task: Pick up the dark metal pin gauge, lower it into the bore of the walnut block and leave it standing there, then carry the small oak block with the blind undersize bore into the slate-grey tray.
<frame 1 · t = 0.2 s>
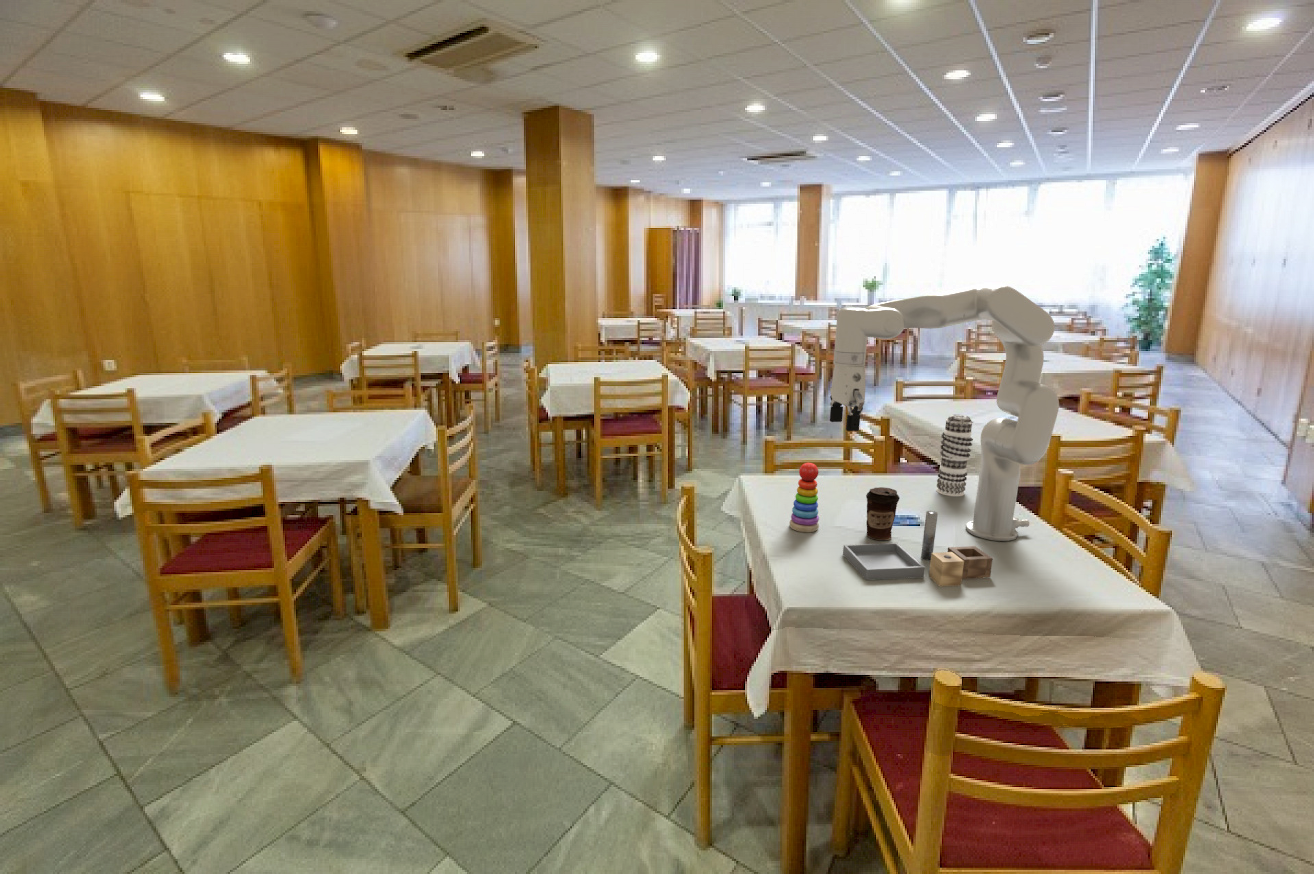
hand: (843, 426, 168), 31 cm above the table, tool pointing down, fingers open, 9 cm apart
tray: (881, 565, 160), on the table
go block: (967, 572, 158), on the table
coffee cup: (878, 537, 178), on the table
decorative candle: (950, 492, 214), on the table
stacking toy: (803, 528, 183), on the table
oak block: (944, 580, 153), on the table
pin gauge: (926, 558, 165), on the table
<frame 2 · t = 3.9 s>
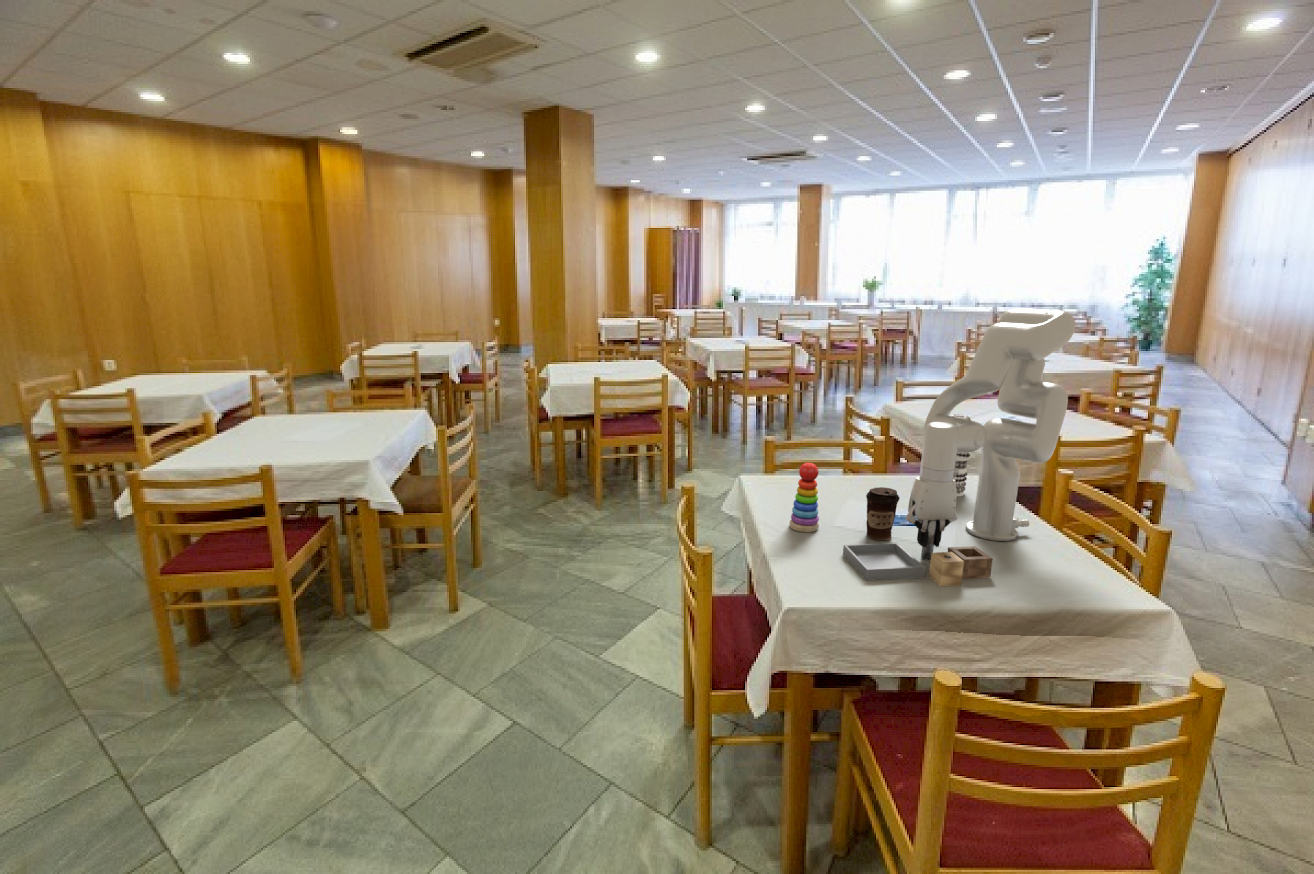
hand: (928, 544, 164), 4 cm above the table, tool pointing down, fingers closed on pin gauge, 2 cm apart
pin gauge: (926, 558, 165), on the table, touching gripper
everything else where it was.
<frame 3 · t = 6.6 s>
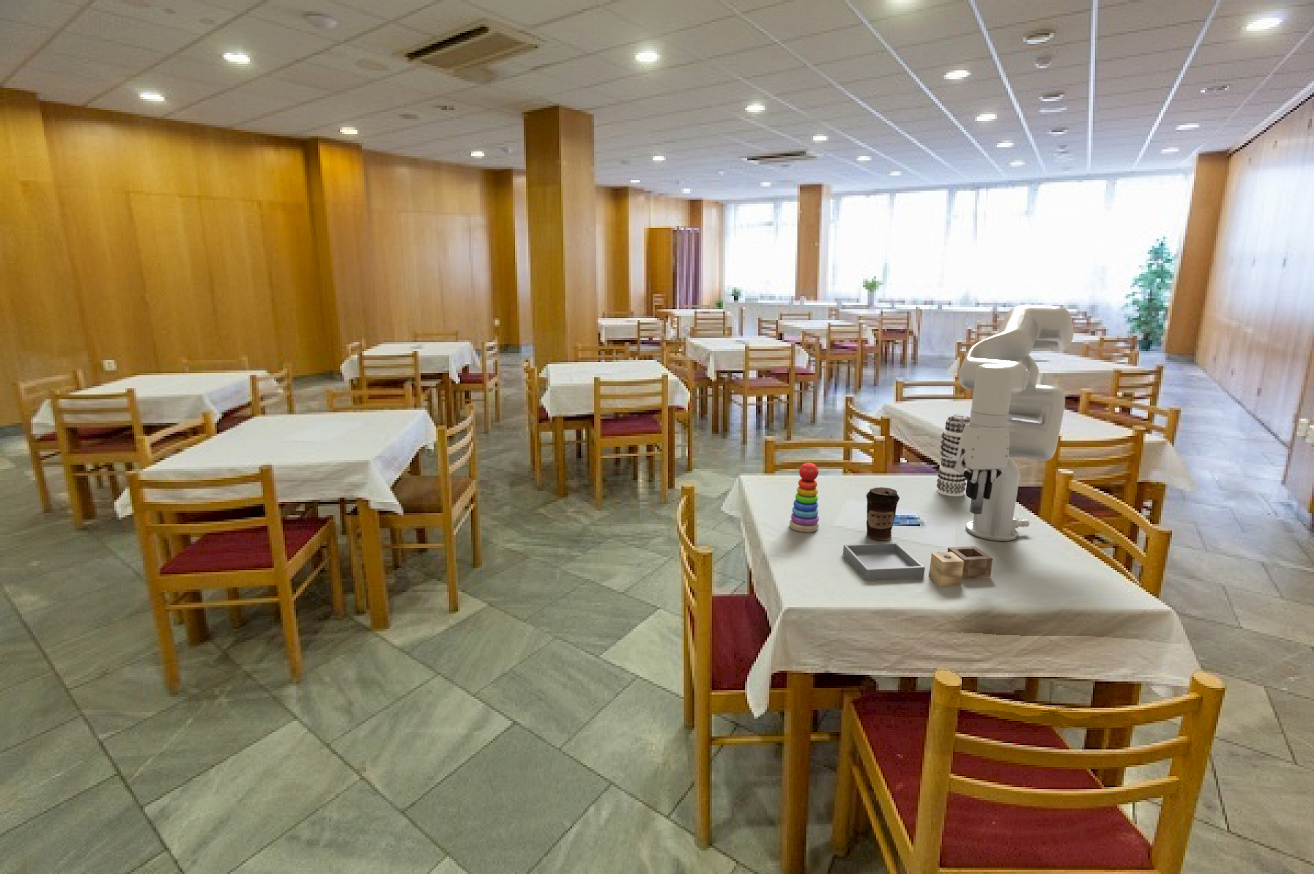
hand: (977, 497, 153), 19 cm above the table, tool pointing down, fingers closed on pin gauge, 2 cm apart
pin gauge: (975, 512, 154), point 15 cm above the table, touching gripper
everything else where it was.
when the fingers open (6 cm above the table, at t = 9.6 s): pin gauge drops 1 cm, resting on go block.
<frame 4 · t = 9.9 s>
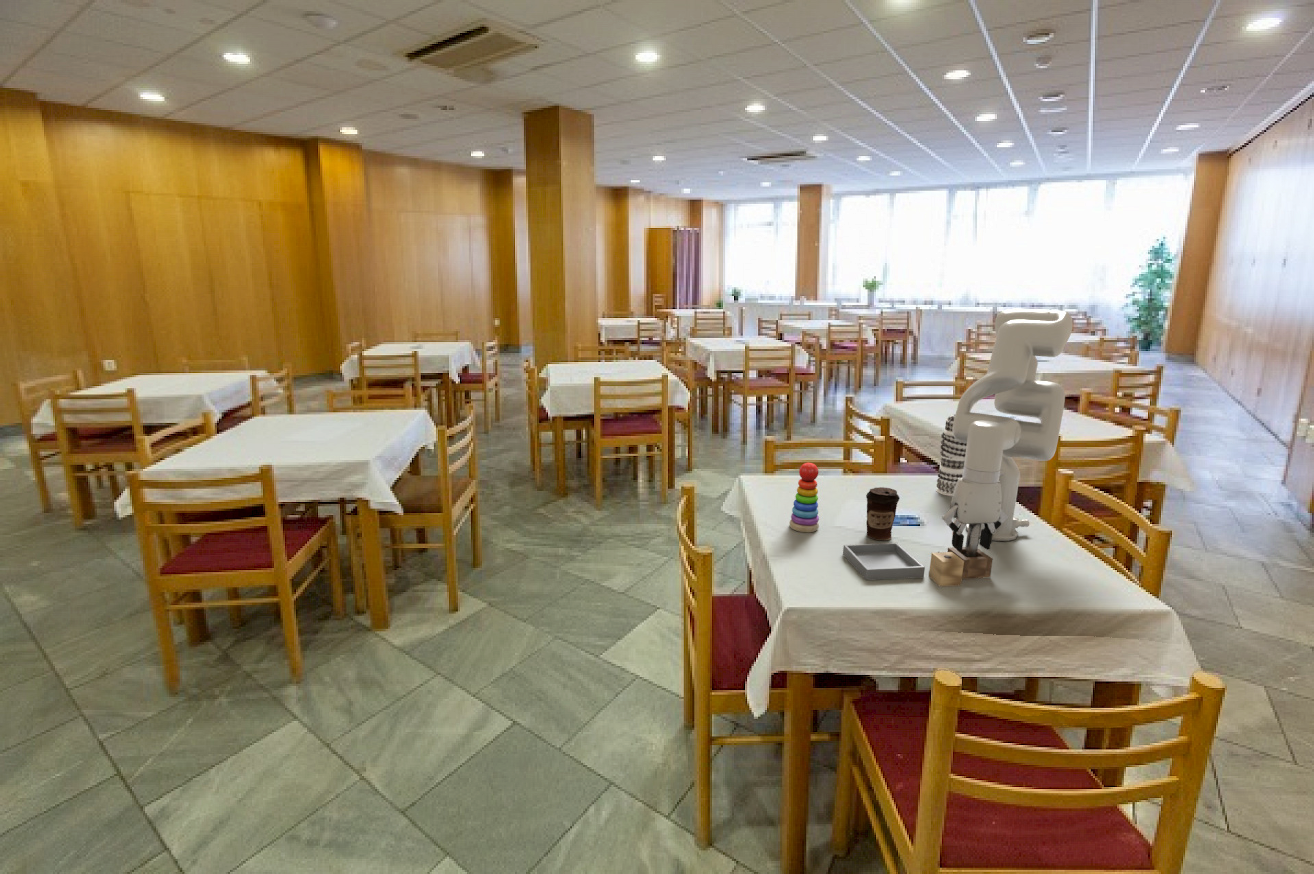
hand: (970, 547, 156), 6 cm above the table, tool pointing down, fingers open, 6 cm apart
go block: (967, 572, 158), on the table, touching pin gauge
pin gauge: (968, 569, 158), point 1 cm above the table, touching go block
everything else where it was.
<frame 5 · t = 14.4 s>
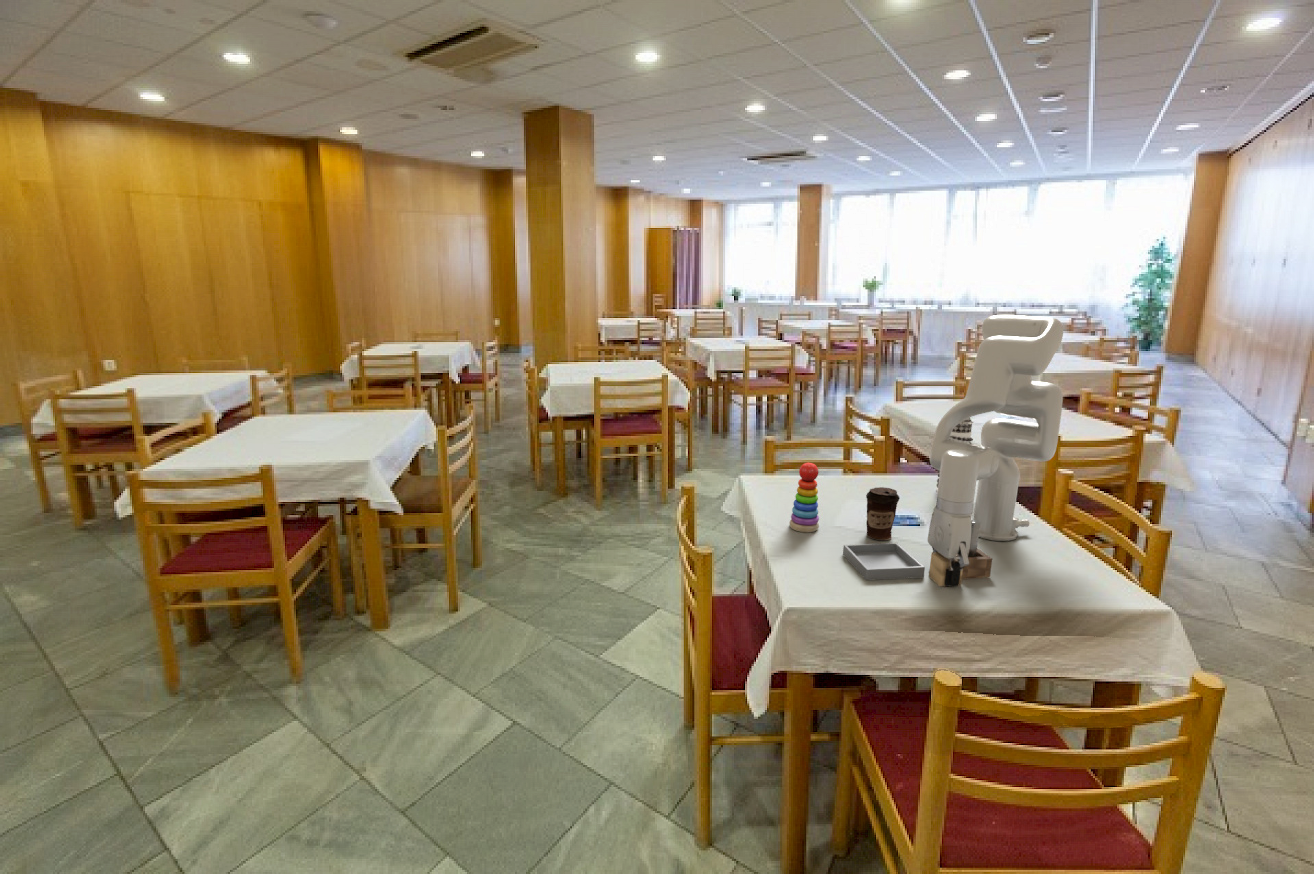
hand: (944, 578, 153), 0 cm above the table, tool pointing down, fingers closed on oak block, 5 cm apart
oak block: (944, 580, 153), on the table, touching gripper
everything else where it was.
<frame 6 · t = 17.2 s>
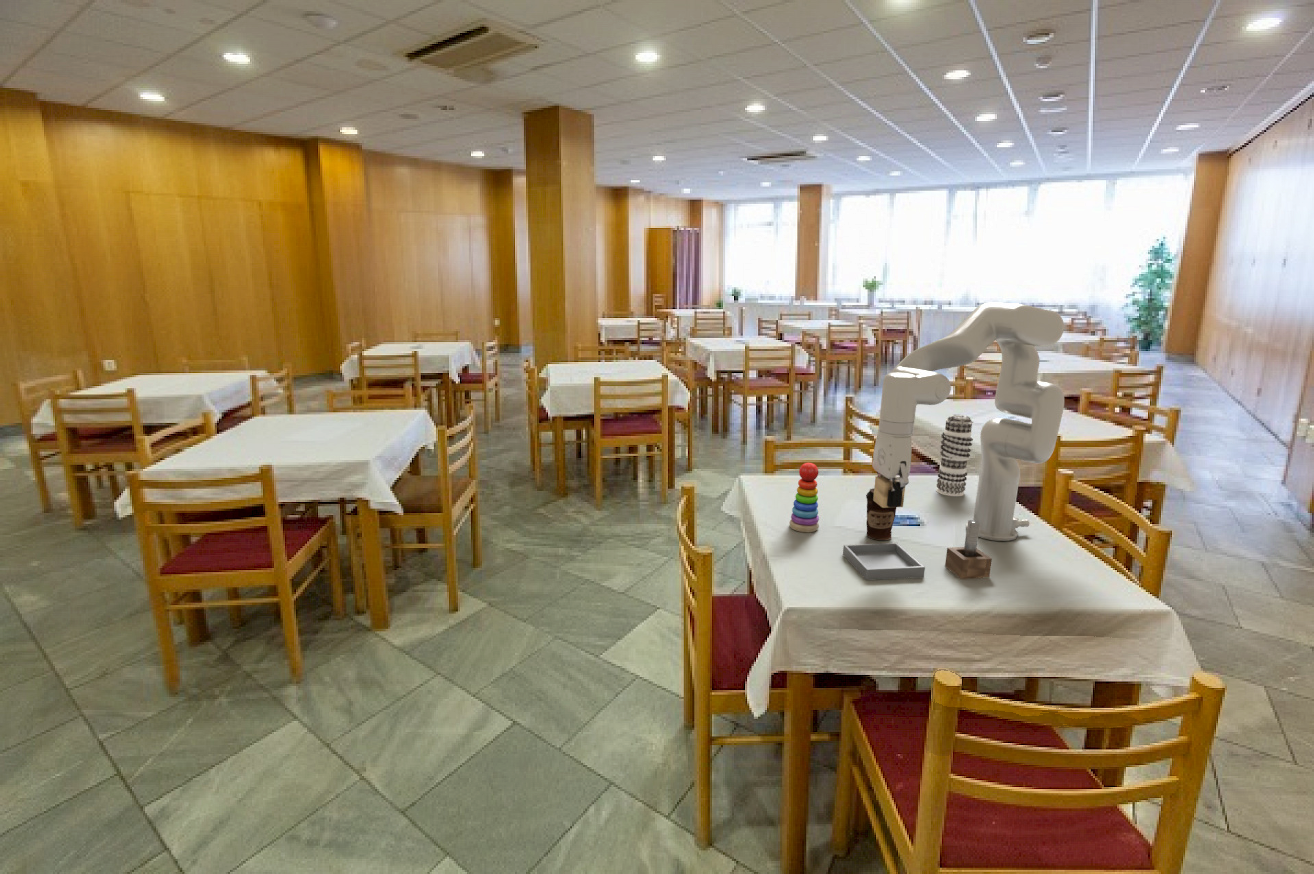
hand: (888, 501, 156), 16 cm above the table, tool pointing down, fingers closed on oak block, 5 cm apart
oak block: (887, 503, 156), point 16 cm above the table, touching gripper
everything else where it was.
when the fingers open (2 cm above the table, at t = 20.0 s): oak block drops 1 cm, resting on tray.
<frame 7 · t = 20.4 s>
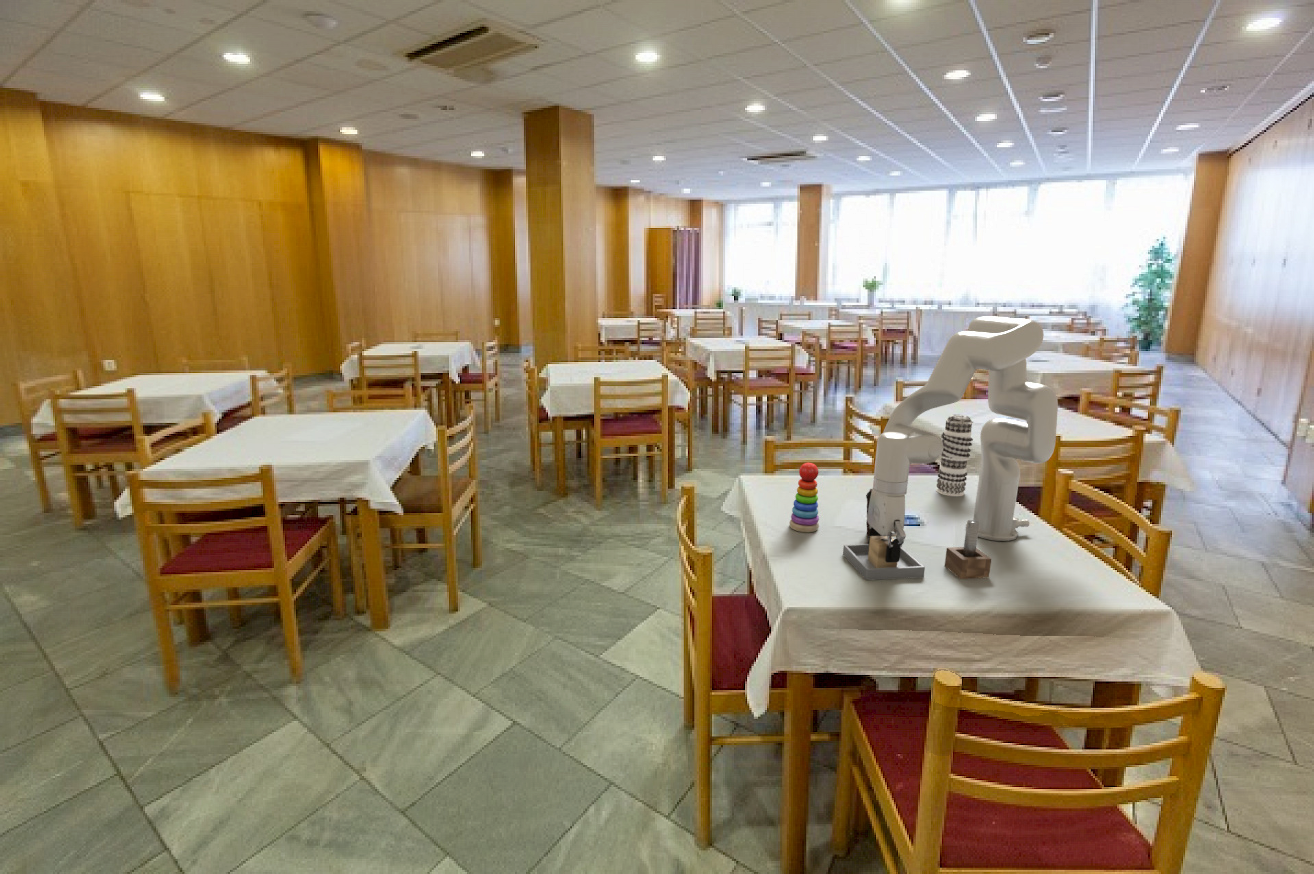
hand: (883, 553, 160), 3 cm above the table, tool pointing down, fingers open, 9 cm apart
oak block: (882, 563, 160), point 1 cm above the table, touching tray
everything else where it was.
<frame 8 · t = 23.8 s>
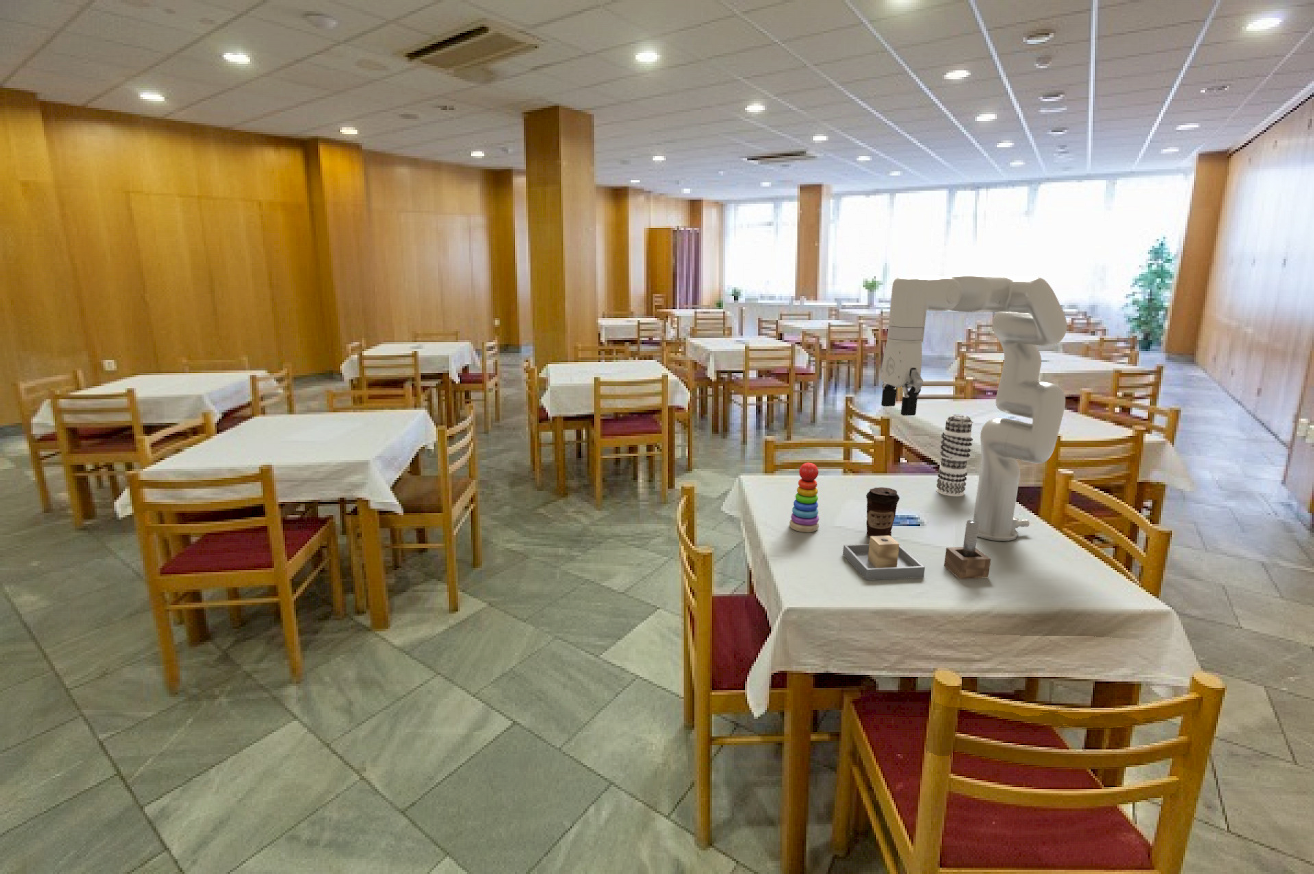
hand: (897, 410, 151), 38 cm above the table, tool pointing down, fingers open, 9 cm apart
nothing on the table moved.
at the end: pin gauge 0.1 cm off-centre on the go block, point 0.8 cm above the go block's base; oak block inside the target area on the tray (0.1 cm from its centre), point 0.6 cm above the tray's base; the gripper is holding nothing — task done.
